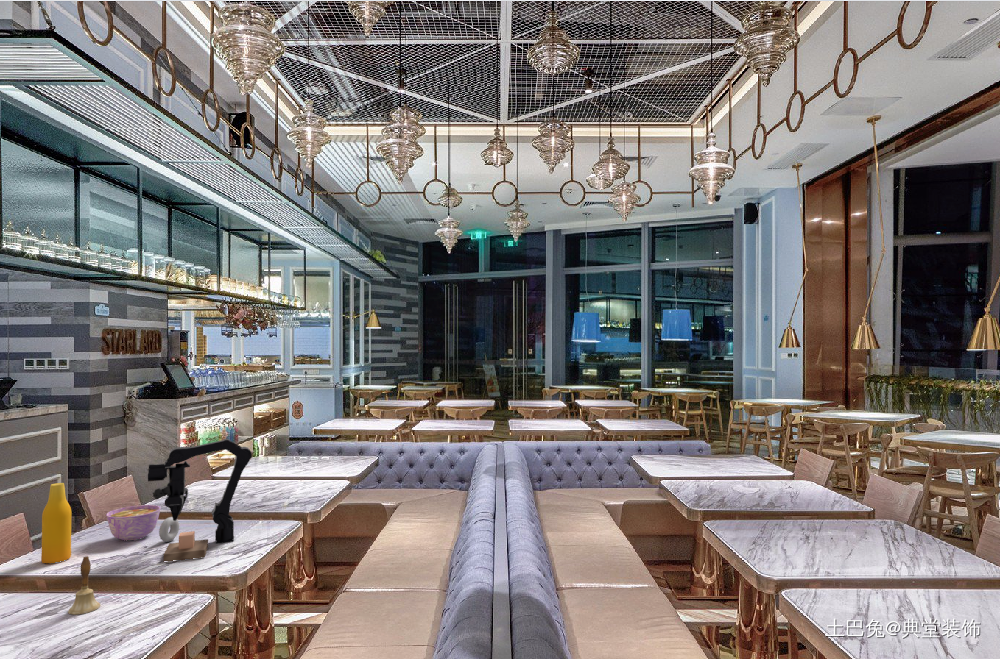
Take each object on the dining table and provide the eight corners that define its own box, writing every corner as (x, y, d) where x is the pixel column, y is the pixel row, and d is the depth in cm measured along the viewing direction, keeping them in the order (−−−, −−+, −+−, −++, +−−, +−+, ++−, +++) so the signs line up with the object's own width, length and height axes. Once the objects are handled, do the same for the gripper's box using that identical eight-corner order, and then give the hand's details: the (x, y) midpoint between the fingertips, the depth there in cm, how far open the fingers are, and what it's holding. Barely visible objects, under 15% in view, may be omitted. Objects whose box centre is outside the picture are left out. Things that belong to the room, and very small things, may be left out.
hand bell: (78, 604, 189) (79, 553, 189) (106, 602, 189) (106, 552, 190) (61, 615, 180) (62, 562, 181) (90, 614, 181) (91, 561, 182)
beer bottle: (36, 565, 223) (37, 487, 224) (47, 557, 232) (48, 482, 233) (65, 563, 226) (66, 485, 227) (75, 555, 235) (76, 480, 236)
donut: (164, 545, 245) (164, 520, 246) (156, 545, 246) (157, 520, 246) (181, 537, 255) (181, 514, 256) (173, 537, 256) (173, 513, 256)
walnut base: (208, 546, 243) (208, 539, 243) (204, 557, 230) (204, 549, 230) (169, 551, 238) (169, 543, 238) (163, 562, 225) (163, 554, 225)
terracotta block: (194, 543, 238) (194, 531, 238) (193, 547, 233) (193, 534, 233) (180, 545, 236) (180, 532, 236) (178, 549, 231) (178, 536, 231)
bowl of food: (96, 547, 244) (97, 518, 244) (117, 532, 263) (117, 506, 264) (150, 543, 248) (151, 515, 248) (167, 529, 267) (167, 503, 268)
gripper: (158, 476, 249) (158, 513, 249) (150, 485, 232) (149, 526, 232) (188, 473, 253) (188, 511, 253) (182, 482, 236) (182, 522, 235)
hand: (176, 517), depth 243 cm, fingers open, 9 cm apart
